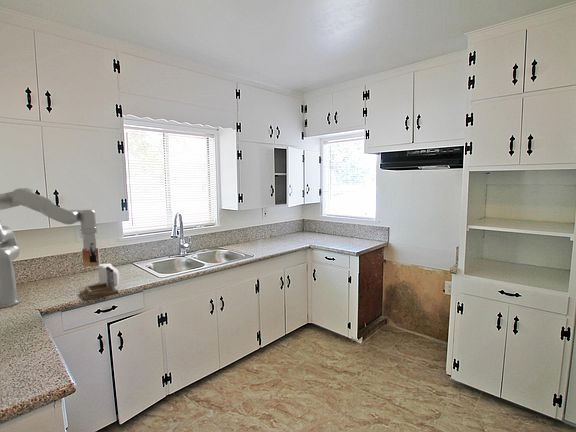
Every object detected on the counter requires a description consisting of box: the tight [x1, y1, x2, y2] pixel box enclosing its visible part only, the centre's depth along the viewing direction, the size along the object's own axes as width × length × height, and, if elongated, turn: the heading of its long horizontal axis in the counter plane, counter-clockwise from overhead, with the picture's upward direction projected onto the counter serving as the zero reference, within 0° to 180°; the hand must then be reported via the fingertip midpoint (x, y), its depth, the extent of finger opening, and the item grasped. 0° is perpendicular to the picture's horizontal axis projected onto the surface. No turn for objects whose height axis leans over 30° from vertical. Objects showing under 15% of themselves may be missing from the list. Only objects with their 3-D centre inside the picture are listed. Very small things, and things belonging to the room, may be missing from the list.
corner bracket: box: [98, 263, 120, 286], centre depth 210 cm, size 11×11×12 cm
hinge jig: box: [79, 267, 119, 301], centre depth 190 cm, size 15×17×14 cm
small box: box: [81, 246, 101, 268], centre depth 187 cm, size 8×6×10 cm
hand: (91, 260), depth 188 cm, fingers closed on small box, 6 cm apart
